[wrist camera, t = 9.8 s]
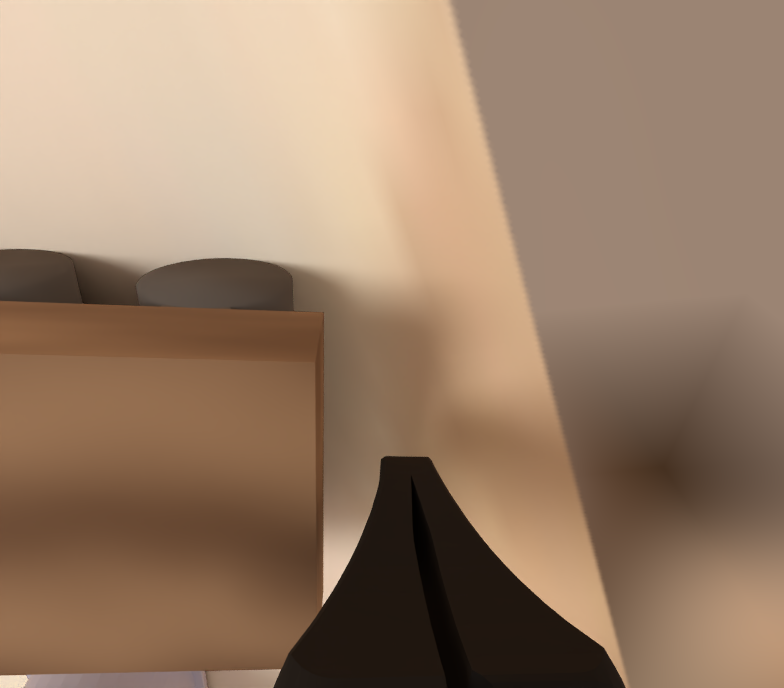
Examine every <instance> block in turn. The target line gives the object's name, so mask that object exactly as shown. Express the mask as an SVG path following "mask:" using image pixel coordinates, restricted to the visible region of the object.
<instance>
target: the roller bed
mask: <svg viewBox="0 0 784 688" xmlns="http://www.w3.org/2000/svg"><path fill="white" fill-rule="evenodd" d="M136 290H137V296H138V301H139V306H155V307H183V308H211V309H239V310H267V311H293V280H292V276H291V275H290V273H288V272H287V271H286V270H284V269H283V268H281V267H278V266H276V265H273V264H269V263H265V262H261V261H255V260H247V259H231V258H217V259H201V260H192V261H186V262H180V263H175V264H171V265H167V266H164V267H161V268H158V269H155V270H153V271H151V272H149V273H147V274H145V275H144V276H142V277H141V278H140V279H139V280H138V282H137V283H136ZM0 301H17V302H44V303H72V304H83V303H82V298H81V294H80V290H79V286H78V281H77V277H76V273H75V269H74V264H73V261H72V259H70V258H69V257H67V256H65V255H63V254H60V253H55V252H50V251H42V250H28V249H6V250H0Z"/></svg>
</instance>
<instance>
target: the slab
mask: <svg viewBox="0 0 784 688" xmlns="http://www.w3.org/2000/svg"><path fill="white" fill-rule="evenodd" d="M323 390H324V313H322V312H294V311H267V310H239V309H211V308H183V307H155V306H128V305H100V304H72V303H44V302H17V301H0V675H40V674H85V673H129V672H174V671H218V670H263V669H282V667H283V665H284V662H285V660H286V658H287V656H288V653H289V652H290V650H291V649H292V648H293V647H294V645H295V644H296V643H297V641H298V640H299V639H300V637H301V636H302V635H303V634H304V632H305V631H306V630H307V628H308V627H309V626H310V624H311V623H312V622H313V620H314V619H315V617H316V616H317V614H318V613H319V611H320V610H321V608H322V599H323Z"/></svg>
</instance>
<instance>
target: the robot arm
mask: <svg viewBox="0 0 784 688" xmlns="http://www.w3.org/2000/svg"><path fill="white" fill-rule="evenodd" d="M26 676H27V678H28V681H27V683H26V684H25V686H24V688H208V685H207V679H206V674H205V671H174V672H129V673H85V674H40V675H26ZM274 688H625V685H624V683H623V681H622V679H621V677H620V675H619V673H618V672H617V670H616V668H615V666H614V664H613V663H612V661H611V659H610V658H609V656H608V654H607V652H606V651H605V649H604V648H603V647H602V646H601V645H599V644H598V643H596V642H595V641H594V640H592V639H591V638H589V637H588V636H587V635H585V634H584V633H583V632H581V631H580V630H578V629H577V628H576V627H574V626H573V625H571V624H570V623H569V622H567V621H566V620H565V619H564V618H562V617H561V616H560V615H559V614H557V613H556V612H555V611H554V610H553V609H551V608H550V607H549V606H548V605H546V604H545V603H544V602H543V601H542V600H541V599H540V598H539V597H538V596H536V595H535V594H534V593H533V592H532V591H531V590H530V589H529V588H528V587H527V586H526V585H524V584H523V583H522V582H521V581H520V580H519V579H518V578H517V577H516V576H515V575H514V574H513V573H512V572H511V571H510V570H509V569H508V568H507V567H506V565H505V564H504V563H503V562H502V561H501V560H500V559H499V558H498V557H497V556H496V554H495V553H494V552H493V551H492V550H491V549H490V548H489V546H488V545H487V544H486V543H485V541H484V540H483V539H482V538H481V537H480V535H479V534H478V533H477V531H476V530H475V529H474V527H473V526H472V525H471V523H470V522H469V521H468V519H467V518H466V517H465V515H464V514H463V512H462V511H461V509H460V508H459V506H458V505H457V503H456V502H455V500H454V499H453V497H452V496H451V494H450V493H449V491H448V489H447V488H446V486H445V484H444V483H443V481H442V479H441V478H440V476H439V474H438V472H437V470H436V468H435V466H434V465H433V463H432V460H431V459H430V458H429V457H398V456H385V457H384V458H382V459H381V466H380V480H379V485H378V490H377V493H376V497H375V500H374V503H373V507H372V510H371V513H370V516H369V518H368V521H367V523H366V526H365V528H364V531H363V533H362V536H361V538H360V540H359V543H358V545H357V547H356V549H355V551H354V553H353V555H352V557H351V559H350V561H349V563H348V565H347V567H346V569H345V571H344V572H343V574H342V576H341V578H340V580H339V581H338V583H337V585H336V587H335V588H334V590H333V592H332V593H331V595H330V596H329V598H328V599H327V601H326V602H325V604H324V605H323V607H322V608H321V610H320V611H319V613H318V614H317V616H316V617H315V619H314V620H313V622H312V623H311V624H310V626H309V627H308V628H307V630H306V631H305V632H304V634H303V635H302V636H301V637H300V639H299V640H298V641H297V643H296V644H295V645H294V647H293V648H292V649H291V650H290V652H289V653H288V656H287V658H286V660H285V662H284V665H283V667H282V669H281V671H280V674H279V676H278V678H277V681H276V683H275V685H274Z"/></svg>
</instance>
